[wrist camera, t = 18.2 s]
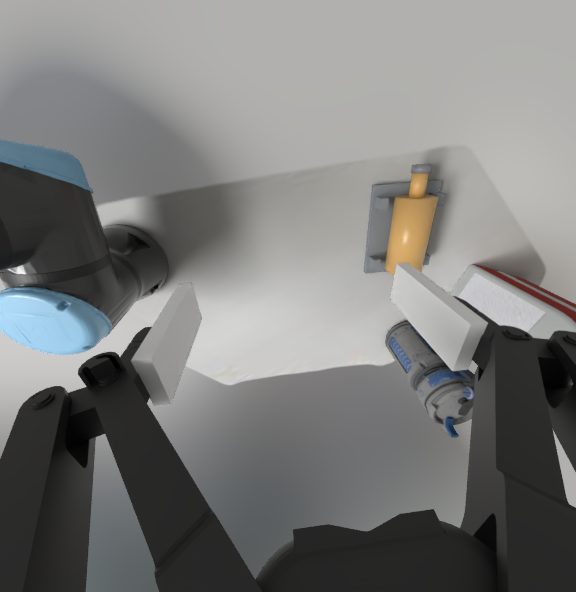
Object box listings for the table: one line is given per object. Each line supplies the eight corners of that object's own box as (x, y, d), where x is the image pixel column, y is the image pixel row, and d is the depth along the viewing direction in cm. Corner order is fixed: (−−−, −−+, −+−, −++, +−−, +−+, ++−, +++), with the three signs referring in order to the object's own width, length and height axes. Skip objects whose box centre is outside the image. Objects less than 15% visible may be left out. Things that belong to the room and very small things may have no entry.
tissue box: (484, 332, 68) (597, 424, 45) (431, 319, 65) (524, 413, 41) (528, 279, 61) (691, 358, 37) (470, 262, 57) (611, 337, 34)
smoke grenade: (431, 313, 64) (516, 396, 42) (410, 352, 70) (474, 441, 48) (395, 309, 62) (464, 392, 41) (377, 349, 69) (428, 439, 47)
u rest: (419, 266, 57) (428, 272, 54) (363, 271, 56) (369, 278, 53) (439, 179, 48) (450, 181, 45) (372, 185, 47) (379, 187, 44)
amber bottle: (409, 261, 55) (428, 274, 49) (378, 264, 54) (395, 278, 48) (428, 162, 45) (456, 163, 39) (392, 165, 45) (414, 167, 39)
